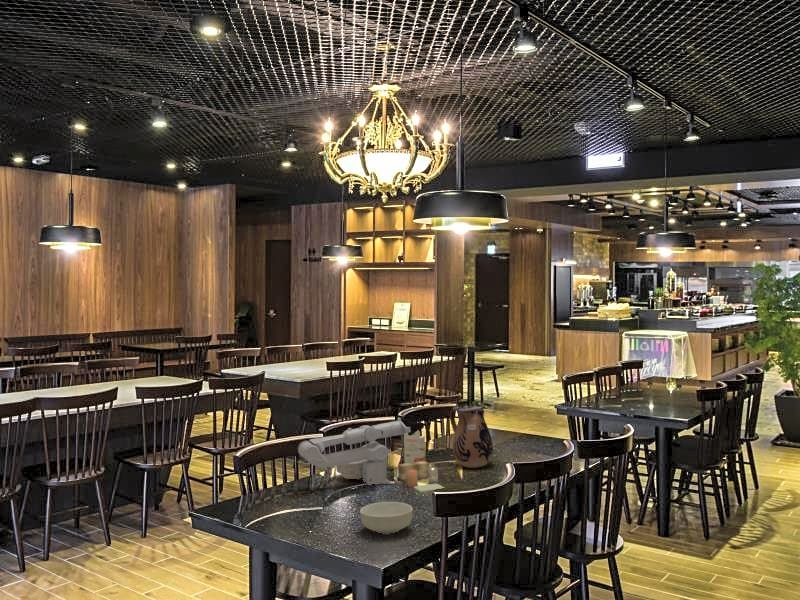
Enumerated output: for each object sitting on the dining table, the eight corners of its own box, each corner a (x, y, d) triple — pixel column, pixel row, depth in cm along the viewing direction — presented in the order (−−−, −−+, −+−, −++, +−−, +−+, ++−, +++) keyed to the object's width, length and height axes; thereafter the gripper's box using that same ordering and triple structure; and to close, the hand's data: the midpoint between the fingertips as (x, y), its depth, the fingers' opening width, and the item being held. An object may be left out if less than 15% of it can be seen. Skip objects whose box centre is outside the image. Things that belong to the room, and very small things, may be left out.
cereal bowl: (411, 521, 239) (411, 499, 239) (414, 538, 222) (414, 515, 222) (361, 523, 238) (360, 501, 238) (360, 540, 222) (359, 517, 222)
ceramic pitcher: (480, 472, 298) (478, 413, 298) (438, 466, 311) (436, 409, 311) (501, 464, 312) (499, 406, 312) (460, 458, 325) (458, 403, 325)
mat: (421, 492, 272) (421, 491, 272) (413, 488, 278) (413, 486, 278) (444, 489, 275) (444, 487, 275) (436, 484, 282) (436, 483, 282)
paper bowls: (329, 480, 293) (329, 460, 293) (347, 471, 307) (347, 453, 307) (362, 483, 287) (362, 463, 287) (379, 474, 301) (379, 455, 300)
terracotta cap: (409, 487, 279) (409, 472, 279) (405, 485, 283) (405, 470, 283) (419, 486, 281) (418, 471, 281) (415, 483, 284) (414, 468, 284)
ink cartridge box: (426, 462, 319) (425, 429, 319) (421, 464, 315) (420, 431, 315) (409, 460, 323) (408, 428, 323) (404, 463, 319) (403, 430, 319)
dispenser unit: (401, 481, 288) (401, 466, 288) (396, 478, 293) (396, 464, 293) (430, 477, 293) (430, 463, 293) (425, 474, 298) (425, 460, 298)
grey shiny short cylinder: (430, 484, 283) (430, 469, 282) (426, 482, 286) (426, 467, 286) (439, 483, 284) (439, 468, 284) (435, 481, 288) (435, 466, 288)
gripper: (395, 422, 284) (426, 416, 289) (381, 417, 297) (411, 411, 303) (396, 440, 284) (427, 434, 289) (383, 434, 298) (413, 428, 303)
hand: (419, 423), depth 296 cm, fingers open, 7 cm apart
